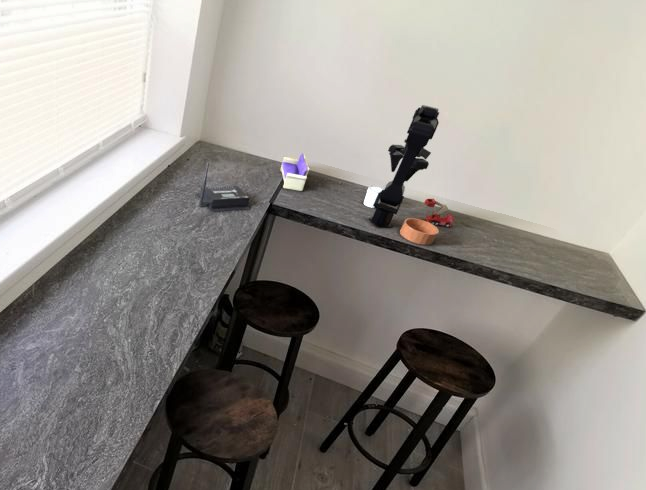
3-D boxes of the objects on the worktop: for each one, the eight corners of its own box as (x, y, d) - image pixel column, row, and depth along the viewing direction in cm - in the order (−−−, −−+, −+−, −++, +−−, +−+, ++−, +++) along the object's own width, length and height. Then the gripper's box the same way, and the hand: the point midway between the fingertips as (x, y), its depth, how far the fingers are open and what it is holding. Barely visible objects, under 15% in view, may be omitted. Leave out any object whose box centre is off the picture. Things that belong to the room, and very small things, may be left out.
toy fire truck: (451, 227, 198) (463, 206, 192) (418, 222, 198) (429, 200, 192) (448, 224, 201) (460, 202, 195) (415, 218, 201) (426, 197, 195)
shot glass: (376, 210, 203) (383, 194, 198) (360, 204, 205) (366, 189, 201) (380, 204, 208) (386, 189, 203) (364, 199, 210) (370, 184, 206)
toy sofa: (279, 170, 224) (285, 148, 218) (298, 173, 224) (304, 151, 218) (282, 188, 208) (289, 165, 202) (302, 192, 208) (310, 169, 201)
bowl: (412, 245, 182) (418, 234, 179) (393, 228, 191) (398, 218, 188) (440, 244, 185) (445, 234, 182) (419, 228, 194) (424, 218, 191)
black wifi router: (233, 192, 198) (242, 151, 188) (249, 209, 188) (261, 166, 178) (188, 195, 191) (195, 152, 181) (203, 212, 181) (212, 168, 171)
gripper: (448, 149, 189) (429, 186, 198) (418, 132, 203) (401, 167, 212) (424, 148, 186) (406, 186, 195) (395, 130, 200) (380, 167, 209)
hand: (399, 176), depth 203 cm, fingers open, 9 cm apart
